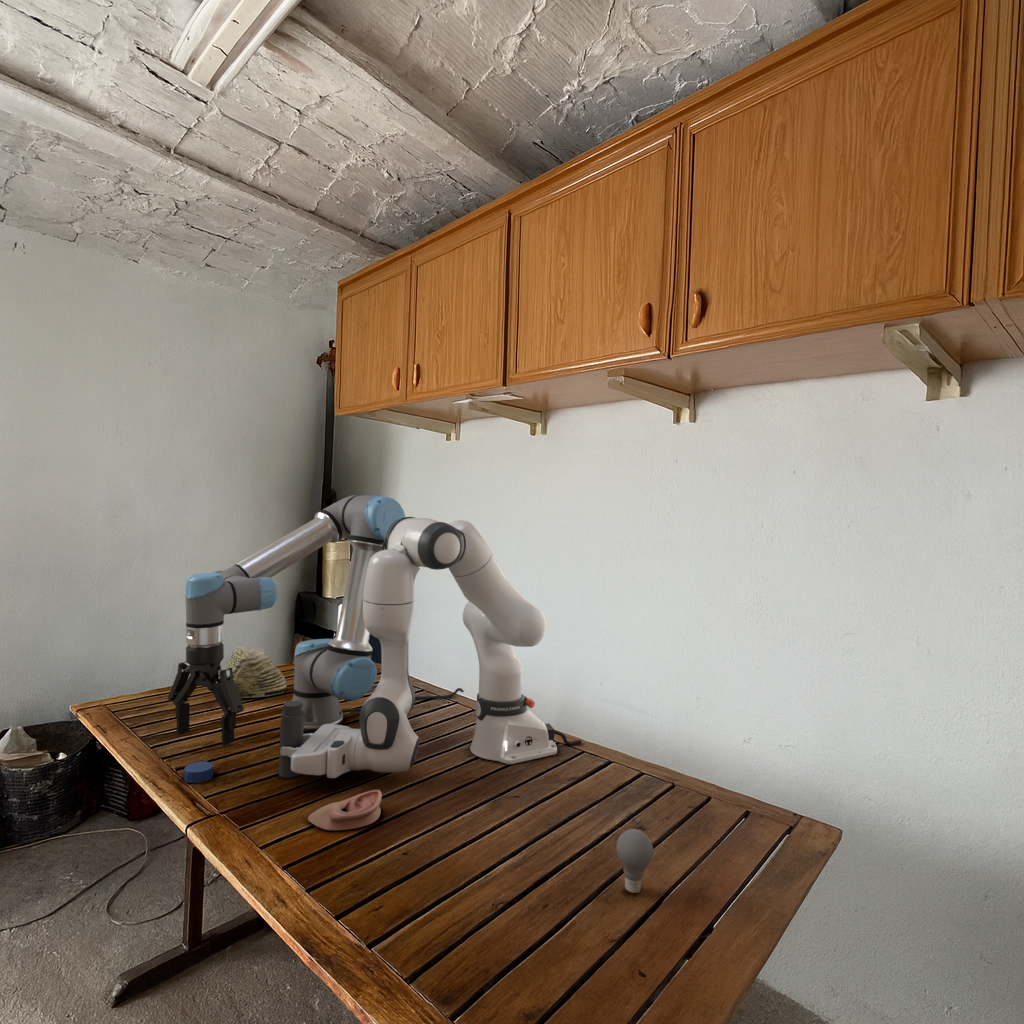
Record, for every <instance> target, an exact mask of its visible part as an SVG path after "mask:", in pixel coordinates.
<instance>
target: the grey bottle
mask: <svg viewBox="0 0 1024 1024" xmlns="http://www.w3.org/2000/svg"><path fill="white" fill-rule="evenodd" d="M302 706H303V704H302V702H301V701H292V700H288V701H285V702H284V703H283V706H282V711H281V713H280V728H279V731H280V732H279V750H280V749H281V748H282V747H283V746H284V745H291V747H292V748H296V747H301V746H302V745H303V744H304V743H303V735H304V732H303V727H304V711H302ZM300 775H301V774H299V773H295V772H293V771H292V770H291V757H289V756H283V755H281V754H280V752H279V753H278V776H279V777H280V778H284V779H293V778H296V777H299V776H300Z"/></svg>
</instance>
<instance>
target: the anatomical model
mask: <svg viewBox="0 0 1024 1024" xmlns="http://www.w3.org/2000/svg"><path fill="white" fill-rule="evenodd" d="M382 799H383V795H382V791H381V790H380V789H372V790H368V791H365V792H362V793H358V794H355V795H353V796H351V797H349V798H346V799H343V800H341V801H336V802H331V803H327V804H325V805H323V806H321V807H319V808H318V809H316V810H315V811H313V812H311V813H310V814H309V815H308V817H307V821H308V822H309V823H311V824H313V825H314V826H316V827H317V828H320V829H322V830H325V831H344V830H345V831H347V830H352V829H353V830H354V829H359V828H362V827H365V826H368V825H371V824H373V823H375V822H376V821H378V820H379V818H380V815H381V807H380V805H381V802H382Z"/></svg>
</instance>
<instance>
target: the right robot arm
mask: <svg viewBox="0 0 1024 1024" xmlns="http://www.w3.org/2000/svg"><path fill="white" fill-rule="evenodd" d="M384 547H385V550H384ZM421 568H427V569H429V570H435V571H436V570H438V571H439V570H446V569H448V570H449V572H450V574H451V575H452V577H453V579H454V581H455V582H456V584H457V585H458V587H459V590H460V591H461V593H462V595H463V596H464V598H465V599H466V600H467V602H466V604H465V606H464V608H463V612H462V621H463V625H464V626H465V628H466V629H467V631H468V632H469V634H470V635H471V638H472V641H473V644H474V647H475V650H476V655H477V659H478V660H477V661H478V693H477V694H476V702H475V716H476V719H475V720H476V721H475V726H474V733H473V736H472V741H471V743H470V746H469V751H470V752H471V753H472V754H473V755H474V756H475V757H478V758H481V759H484V760H488V761H489V760H490V761H496V762H499V763H502V764H506V765H514V764H519V763H523V762H528V761H532V760H536V759H541V758H545V757H549V756H555V755H556V754H557V753H558V745H557V744H556V743H555V742H554V741H555V735H557V736H559V737H561V739H562V740H563V741H562V742H563V743H564V744H565V745H567V746H576V745H580V744H582V739H577V740H573V741H569V740H568V739H567V737H566V735H565V733H563V732H561V731H558V730H556V729H555V728H554V727H553V726H552V725H551V724H550V723H544V721H543V720H541V719H540V718H539V717H538V716H537V715H536V714H535V713H533V712H532V711H531V710H529V709H533V708H534V707H535V705H536V703H535V700H533V699H532V698H530V697H528V696H526V695H524V694H523V693H522V691H523V688H522V687H523V672H524V671H523V665H522V662H521V660H520V659H519V658H518V656H517V655H516V654H515V651H514V649H513V647H519V648H530V647H535V646H536V645H538V644H540V643H541V641H542V640H543V639H544V636H545V634H546V631H547V619H546V616H545V614H544V613H543V611H542V610H541V609H540V608H537V606H535V605H533V604H532V603H531V602H530V601H529V600H527V599H526V597H524V596H523V594H521V592H519V590H518V589H517V588H516V587H515V586H514V585H513V584H512V583H511V581H510V580H509V579H508V578H507V577H506V575H505V573H504V572H503V570H502V568H501V567H500V565H499V563H498V561H497V560H496V558H495V556H494V553H493V552H492V550H491V547H489V545H488V544H487V541H486V540H485V539H484V537H483V536H482V534H481V533H480V532H479V530H478V529H477V528H476V527H475V526H474V525H473V524H472V523H471V522H470V521H467V520H464V519H463V520H462V519H460V520H459V519H458V520H454V521H451V522H449V523H448V522H445V521H444V522H443V521H439V520H436V519H432V518H428V517H415V516H405V517H404V518H400V519H398V520H396V521H394V522H393V523H392V524H391V526H390V527H389V529H388V531H387V533H386V536H385V541H384V542H383V544H382V551H379V552H377V553H375V554H374V555H373V556H372V557H371V558H370V561H369V564H368V568H367V572H366V578H365V584H364V594H363V618H364V624H365V628H366V629H367V631H368V632H369V633H370V635H371V636H372V637H374V638H376V639H378V641H379V643H380V648H381V649H380V652H381V655H380V656H381V658H380V661H381V663H380V665H381V668H380V669H381V670H380V671H381V672H380V673H381V675H380V679H379V681H378V683H377V685H376V686H375V688H374V690H373V692H372V693H371V695H369V697H368V698H367V699H366V701H364V703H363V704H362V706H361V708H360V709H361V711H360V712H359V728H352V727H350V726H348V725H343V724H340V725H336V724H324V725H322V726H321V727H320V728H319V729H318V730H317V731H316V732H308V733H303V745H302V746H301V747H296V748H292V747H291V745H284V746H283V747H282V748H281V749H280V748H279V753H280V754H281V755H283V756H289V757H291V770H292V771H293V772H295V773H299V774H300V775H309V776H324V775H326V778H328V779H336V778H338V777H339V776H342V775H343V774H345V773H348V772H351V771H364V770H369V771H372V772H375V773H387V774H388V773H392V774H393V773H394V774H395V773H403V772H404V773H405V772H408V771H410V769H412V767H413V766H414V764H415V763H416V760H417V756H418V755H419V754H418V753H419V749H420V742H421V741H420V737H419V736H418V735H417V734H416V733H415V731H414V730H413V728H412V726H411V724H410V721H409V719H408V715H409V714H410V713H411V712H412V711H413V708H414V707H415V704H416V699H415V697H416V692H415V689H414V686H413V684H412V681H411V679H410V674H409V673H410V672H409V637H410V631H411V625H412V621H413V612H414V603H415V601H414V600H415V599H414V598H415V597H414V596H415V580H416V577H417V575H418V573H419V571H420V569H421ZM528 708H529V709H528Z"/></svg>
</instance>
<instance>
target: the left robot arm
mask: <svg viewBox="0 0 1024 1024" xmlns="http://www.w3.org/2000/svg"><path fill="white" fill-rule="evenodd" d="M404 517H406V514H405V510H404V509H403V508H402V506H401V504H400V502H398V500H396V499H395V498H393V497H390V496H384V495H379V494H376V495H370V494H369V495H368V494H367V495H365V494H353V495H349V496H346V497H344V498H342V499H339V500H338V501H336V502H334V503H332V504H330V505H329V506H327V507H325V508H323V509H322V510H320V511H317V512H316V513H315V514H314V519H311V520H310V521H308V522H307V523H305V524H302V525H301V526H299V527H298V528H296V529H294V530H293V531H290V532H289V533H287V534H286V535H284V536H282V537H281V538H278V539H277V540H275V541H273V542H272V543H270V544H268V545H267V546H265V547H264V548H262V549H260V550H258V551H256V552H254V553H253V554H251V555H250V556H248V557H246V558H244V559H242V560H240V561H239V562H238V563H236V564H233V565H232V566H229V567H228V568H226V569H225V570H216V571H215V570H214V571H212V572H202V573H194V574H191V575H188V577H187V578H186V584H185V594H184V598H185V643H186V644H187V646H186V647H185V661H182V662H178V664H177V673H176V676H175V678H174V681H173V683H172V686H171V689H170V691H169V693H168V696H167V700H168V702H173V705H174V707H175V708H174V709H175V712H174V713H175V719H176V736H181V735H183V734H187V733H189V732H190V702H189V699H190V697H191V696H192V694H193V693H194V691H195V690H196V689H197V687H203V688H207V690H208V691H210V692H211V693H212V695H213V696H214V698H215V701H216V702H217V703H218V705H219V707H220V709H221V711H222V712H223V715H221V746H222V747H225V746H227V745H230V744H232V743H234V742H235V729H236V727H237V714H239V713H241V712H243V711H245V707H244V704H243V702H242V698H240V696H239V693H238V690H237V687H236V685H235V682H234V679H233V671H232V668H227V669H225V668H222V666H221V663H222V661H223V660H224V657H225V655H224V654H225V653H224V652H225V650H224V649H225V647H224V646H225V645H224V643H222V642H224V640H225V630H224V629H225V628H224V624H225V615H231V614H239V613H246V612H248V613H249V612H254V611H258V612H260V611H262V610H266V609H271V608H272V607H274V606H275V604H276V602H277V600H278V588H277V585H276V583H275V581H274V579H273V577H274V576H276V575H277V574H279V573H281V572H283V571H284V570H286V569H288V568H289V567H291V566H293V565H295V563H297V562H299V561H301V560H302V559H305V558H306V557H307V556H309V555H310V554H312V553H315V551H317V550H318V549H320V548H322V547H325V545H327V544H328V543H332V544H336V543H337V542H339V541H340V540H342V539H345V538H348V539H349V540H348V542H349V544H350V545H351V546H352V554H351V558H350V564H349V569H348V573H347V579H346V584H345V589H344V592H343V593H344V594H343V599H342V603H341V609H340V614H339V619H338V623H337V627H336V634H335V637H334V638H318V639H308V640H304V641H300V642H299V643H297V644H296V646H295V650H294V655H293V657H294V672H293V673H294V674H293V695H292V696H293V697H292V699H291V701H301V702H302V704H303V706H302V711H304V727H303V733H315V732H316V731H317V730H318V729H319V728H320V727H321V726H322V725H324V724H336V725H342V723H343V722H344V714H343V713H352V712H353V713H354V712H355V713H356V712H359V713H360V711H361V708H342V706H341V702H340V700H344V701H349V702H353V701H357V700H359V699H361V698H363V697H364V696H365V695H366V694H368V693H369V692H370V691H371V689H372V688H373V687H374V685H375V682H376V680H377V675H378V671H377V666H376V665H375V662H374V661H373V660H372V654H373V647H372V646H371V644H370V642H369V641H370V635H371V634H370V633H369V632H368V631H367V629H366V628H365V624H364V618H363V594H364V584H365V578H366V572H367V568H368V564H369V561H370V558H371V557H372V556H373V555H374V554H375V553H377V552H379V551H382V544H383V542H384V541H385V536H386V533H387V531H388V529H389V527H390V526H391V524H392V523H393V522H394V521H396V520H398V519H400V518H404ZM384 550H385V547H384ZM458 692H460V693H464V692H465V690H464V689H463V688H461V687H458V688H456V689H455V690H454V691H453V692H452V693H450V694H444V695H426V696H425V695H424V696H415V700H436V699H437V700H441V699H449V698H452V697H454V696H455V695H456V694H457V693H458Z"/></svg>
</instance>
